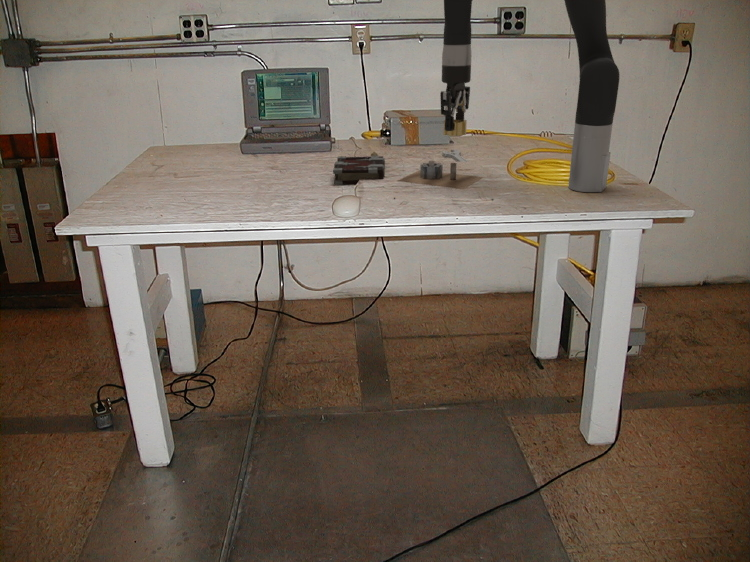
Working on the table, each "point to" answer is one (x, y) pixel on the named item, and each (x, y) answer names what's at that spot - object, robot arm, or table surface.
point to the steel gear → (431, 171)
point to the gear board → (443, 179)
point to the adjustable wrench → (454, 155)
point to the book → (358, 169)
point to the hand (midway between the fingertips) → (454, 128)
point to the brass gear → (456, 128)
